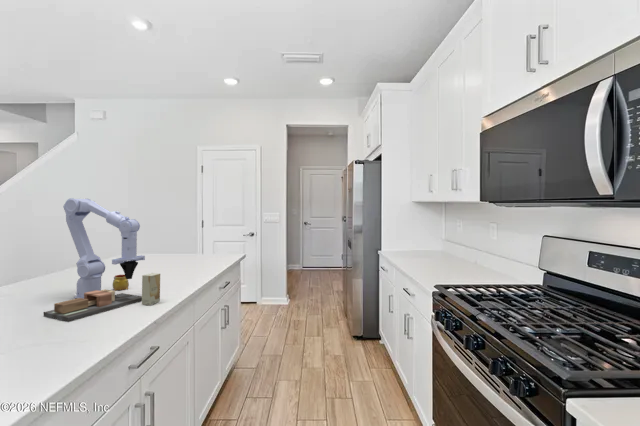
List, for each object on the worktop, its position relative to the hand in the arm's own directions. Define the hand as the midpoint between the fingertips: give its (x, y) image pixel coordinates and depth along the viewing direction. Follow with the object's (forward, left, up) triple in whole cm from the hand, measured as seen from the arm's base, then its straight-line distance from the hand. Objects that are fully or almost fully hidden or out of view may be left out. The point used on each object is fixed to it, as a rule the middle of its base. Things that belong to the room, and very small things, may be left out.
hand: (128, 278), depth 152 cm
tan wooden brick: (0, -19, -7) cm, 20 cm away
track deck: (0, -14, -9) cm, 17 cm away
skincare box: (+13, 0, -9) cm, 16 cm away
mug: (-22, +13, -9) cm, 27 cm away
